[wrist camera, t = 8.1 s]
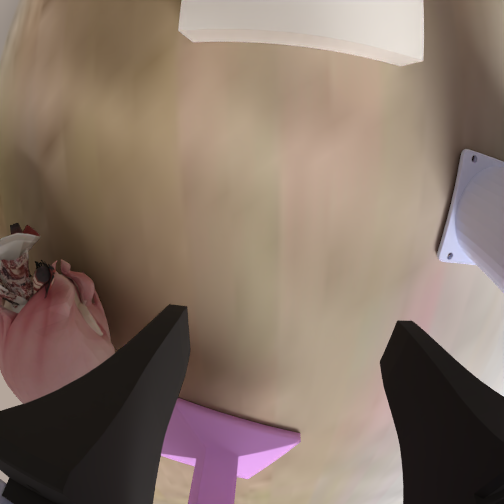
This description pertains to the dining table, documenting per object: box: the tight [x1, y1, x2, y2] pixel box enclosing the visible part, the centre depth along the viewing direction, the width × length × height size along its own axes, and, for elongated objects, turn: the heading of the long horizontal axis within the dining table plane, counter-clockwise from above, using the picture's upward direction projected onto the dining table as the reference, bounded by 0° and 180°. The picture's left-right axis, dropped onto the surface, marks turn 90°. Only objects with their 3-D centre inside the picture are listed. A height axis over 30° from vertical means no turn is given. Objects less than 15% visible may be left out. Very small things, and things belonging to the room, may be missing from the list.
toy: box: [0, 223, 115, 404], centre depth 18 cm, size 12×11×15 cm
